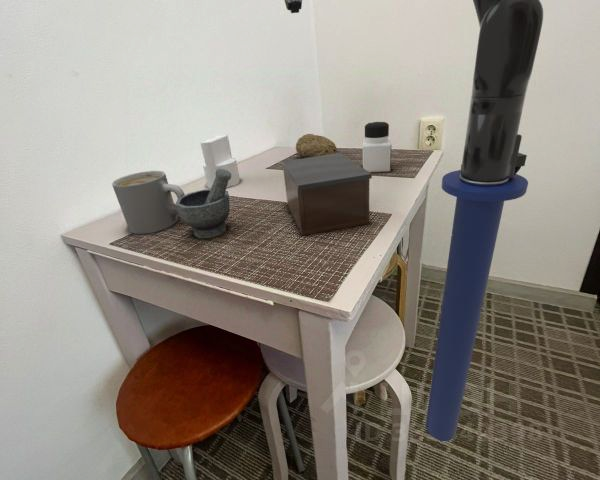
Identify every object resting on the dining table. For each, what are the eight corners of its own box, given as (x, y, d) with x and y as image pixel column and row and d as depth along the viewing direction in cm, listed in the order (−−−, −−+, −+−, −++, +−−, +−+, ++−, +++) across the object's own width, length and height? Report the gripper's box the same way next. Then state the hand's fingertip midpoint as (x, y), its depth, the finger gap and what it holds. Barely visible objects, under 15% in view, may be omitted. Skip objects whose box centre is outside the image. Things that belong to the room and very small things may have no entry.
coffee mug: (118, 232, 67) (100, 185, 63) (152, 212, 75) (138, 170, 71) (170, 237, 63) (154, 187, 58) (200, 216, 71) (189, 170, 66)
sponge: (296, 155, 116) (291, 157, 97) (298, 132, 114) (294, 130, 95) (333, 159, 116) (335, 162, 96) (336, 136, 113) (339, 135, 94)
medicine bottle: (390, 171, 86) (392, 123, 80) (362, 173, 87) (362, 126, 81) (388, 164, 92) (390, 119, 86) (362, 165, 93) (362, 121, 87)
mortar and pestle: (176, 243, 60) (156, 180, 55) (196, 221, 68) (181, 164, 63) (234, 241, 59) (220, 176, 53) (248, 219, 67) (237, 161, 61)
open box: (369, 223, 60) (369, 176, 56) (302, 235, 58) (297, 188, 54) (342, 195, 74) (341, 156, 69) (287, 204, 72) (282, 165, 68)
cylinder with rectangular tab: (218, 177, 96) (209, 135, 90) (245, 178, 93) (238, 134, 87) (200, 188, 89) (189, 143, 83) (229, 189, 86) (220, 142, 80)
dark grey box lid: (371, 178, 55) (371, 173, 55) (298, 190, 53) (298, 185, 53) (341, 156, 69) (340, 152, 69) (282, 165, 68) (282, 161, 67)
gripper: (242, -78, 60) (258, -11, 55) (312, -81, 62) (334, -16, 57) (245, -33, 67) (260, 30, 62) (308, -37, 69) (327, 24, 64)
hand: (295, 8), depth 60 cm, fingers closed
